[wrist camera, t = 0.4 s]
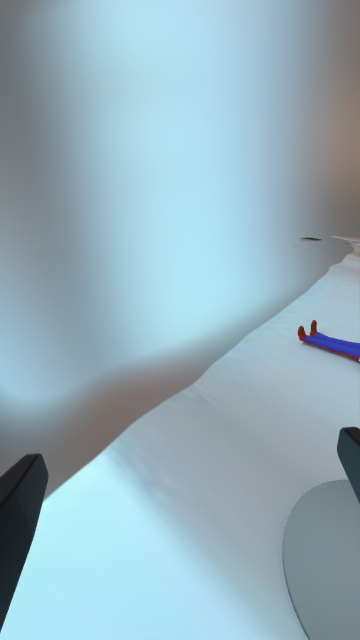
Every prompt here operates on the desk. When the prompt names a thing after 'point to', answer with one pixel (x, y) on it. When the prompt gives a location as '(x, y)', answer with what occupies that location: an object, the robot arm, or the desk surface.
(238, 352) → the desk surface
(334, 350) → the character figure
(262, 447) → the desk surface
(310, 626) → the pad
